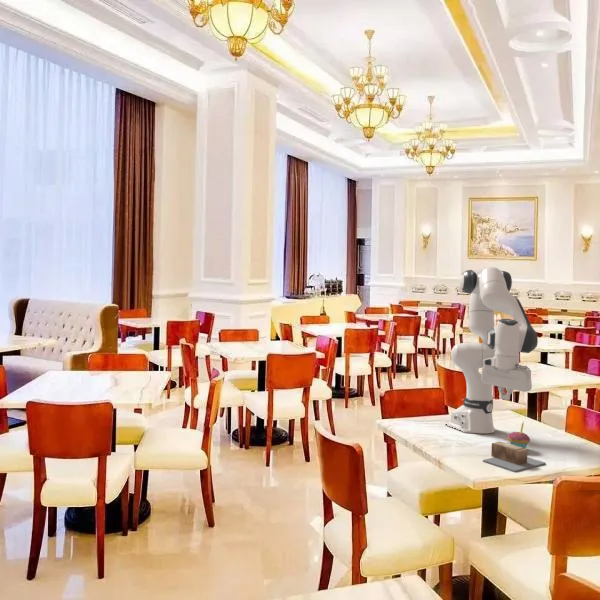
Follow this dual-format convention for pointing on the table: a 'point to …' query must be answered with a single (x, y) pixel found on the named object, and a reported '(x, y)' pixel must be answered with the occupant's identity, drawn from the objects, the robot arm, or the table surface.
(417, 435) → the table surface
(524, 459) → the walnut block
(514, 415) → the table surface
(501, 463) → the mat
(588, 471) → the table surface
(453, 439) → the table surface
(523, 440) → the cupcake
